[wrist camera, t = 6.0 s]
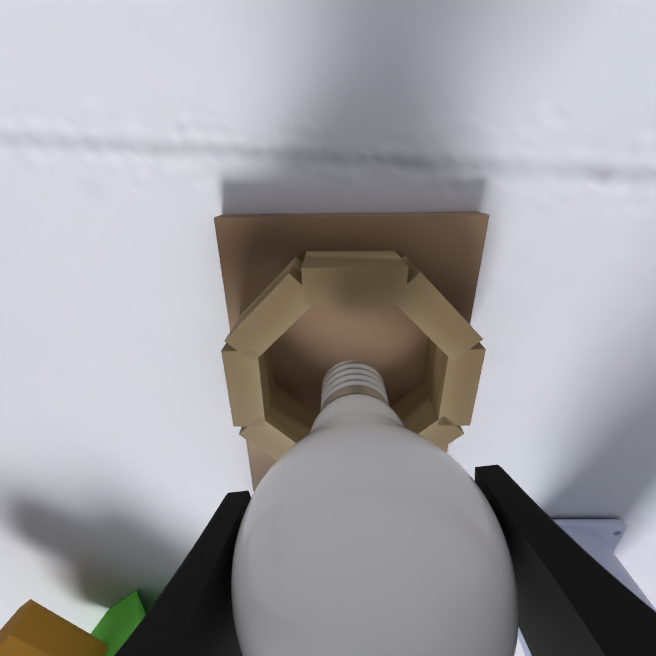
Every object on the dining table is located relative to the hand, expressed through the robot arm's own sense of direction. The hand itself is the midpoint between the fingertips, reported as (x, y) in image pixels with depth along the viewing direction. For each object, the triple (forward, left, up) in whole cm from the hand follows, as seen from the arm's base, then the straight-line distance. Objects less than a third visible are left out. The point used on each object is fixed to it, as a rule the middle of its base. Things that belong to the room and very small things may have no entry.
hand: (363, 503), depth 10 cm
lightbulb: (0, 0, -6) cm, 6 cm away
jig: (-3, 0, -10) cm, 10 cm away
